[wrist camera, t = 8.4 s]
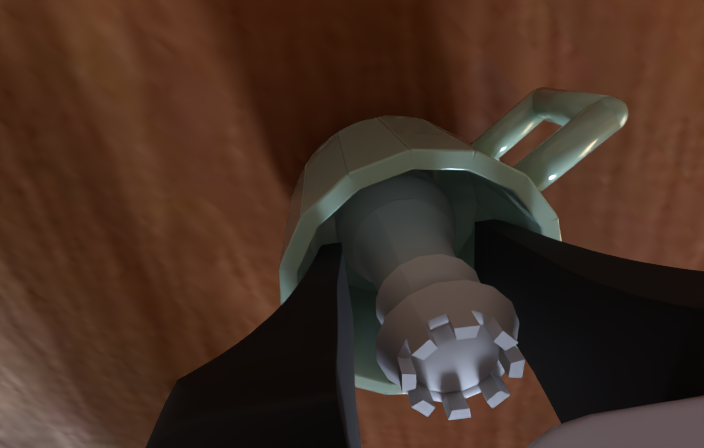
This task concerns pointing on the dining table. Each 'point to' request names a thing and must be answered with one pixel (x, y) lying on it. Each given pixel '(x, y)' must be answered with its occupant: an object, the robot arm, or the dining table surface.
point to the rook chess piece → (428, 297)
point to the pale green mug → (452, 176)
